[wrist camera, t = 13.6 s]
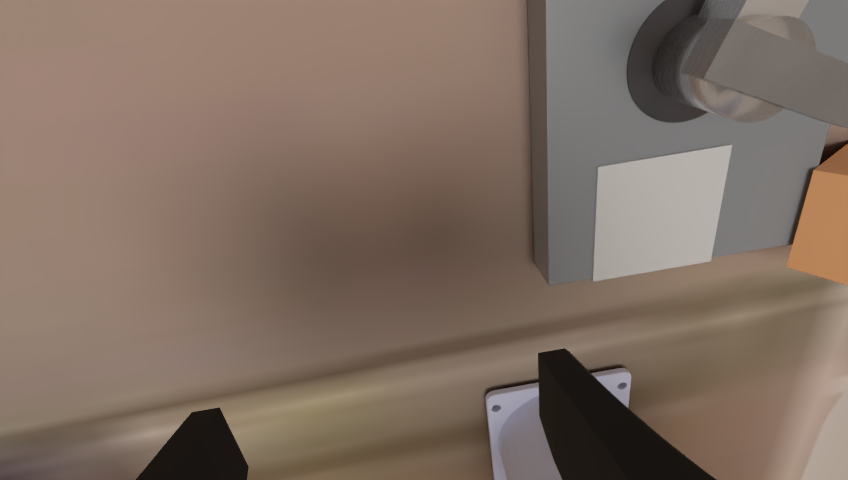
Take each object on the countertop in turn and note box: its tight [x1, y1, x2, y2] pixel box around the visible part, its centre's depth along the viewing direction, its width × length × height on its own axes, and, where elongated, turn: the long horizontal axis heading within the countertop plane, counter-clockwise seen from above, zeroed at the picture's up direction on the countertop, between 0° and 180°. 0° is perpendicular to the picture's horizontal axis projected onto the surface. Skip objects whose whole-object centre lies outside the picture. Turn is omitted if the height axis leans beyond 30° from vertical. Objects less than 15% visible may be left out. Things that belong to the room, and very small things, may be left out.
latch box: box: [527, 0, 848, 286], centre depth 17 cm, size 14×11×2 cm
